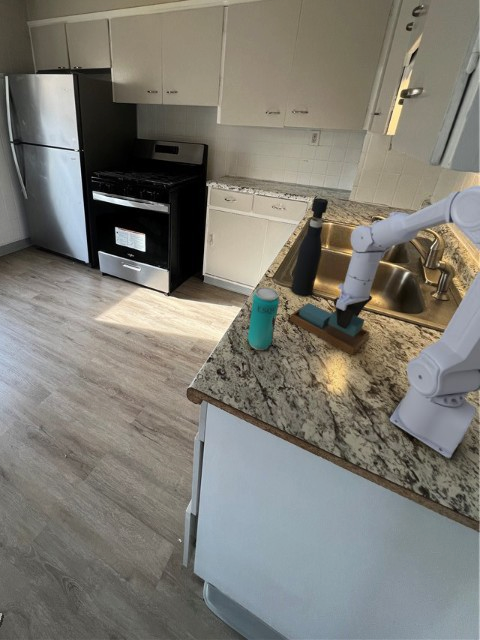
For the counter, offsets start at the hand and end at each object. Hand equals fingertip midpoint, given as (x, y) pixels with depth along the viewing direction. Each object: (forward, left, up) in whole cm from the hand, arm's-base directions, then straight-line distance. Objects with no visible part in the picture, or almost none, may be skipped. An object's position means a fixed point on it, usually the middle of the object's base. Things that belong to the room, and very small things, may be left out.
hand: (346, 322), depth 79 cm
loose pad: (0, 0, -1) cm, 1 cm away
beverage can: (+12, +19, -5) cm, 23 cm away
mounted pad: (+8, 0, -5) cm, 9 cm away
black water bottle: (+19, -12, -5) cm, 23 cm away
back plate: (+4, 0, -5) cm, 6 cm away
